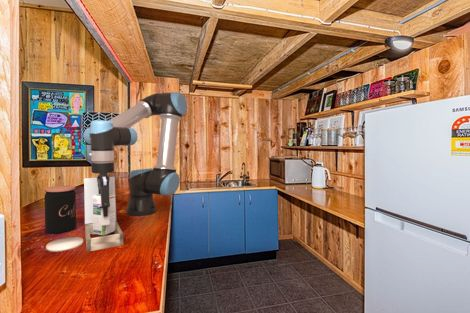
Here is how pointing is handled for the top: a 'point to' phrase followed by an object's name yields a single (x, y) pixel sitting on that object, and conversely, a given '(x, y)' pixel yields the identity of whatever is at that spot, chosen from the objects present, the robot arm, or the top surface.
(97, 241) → the box
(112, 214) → the syrup box
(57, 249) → the saucer
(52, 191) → the coffee jar
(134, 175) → the robot arm
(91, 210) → the lid
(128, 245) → the top surface
